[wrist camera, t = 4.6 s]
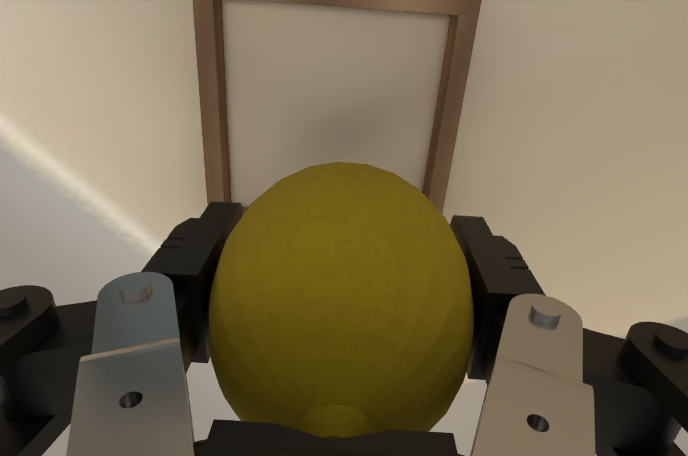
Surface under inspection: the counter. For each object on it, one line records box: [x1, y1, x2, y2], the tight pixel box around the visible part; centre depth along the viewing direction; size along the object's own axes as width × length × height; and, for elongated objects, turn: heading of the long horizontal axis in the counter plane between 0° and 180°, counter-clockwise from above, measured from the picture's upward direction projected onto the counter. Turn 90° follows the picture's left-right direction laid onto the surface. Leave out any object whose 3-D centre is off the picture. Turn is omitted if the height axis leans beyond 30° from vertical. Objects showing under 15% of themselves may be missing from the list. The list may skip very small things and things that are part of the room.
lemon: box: [209, 162, 474, 440], centre depth 10 cm, size 6×6×8 cm
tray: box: [193, 0, 481, 215], centre depth 22 cm, size 12×12×2 cm
